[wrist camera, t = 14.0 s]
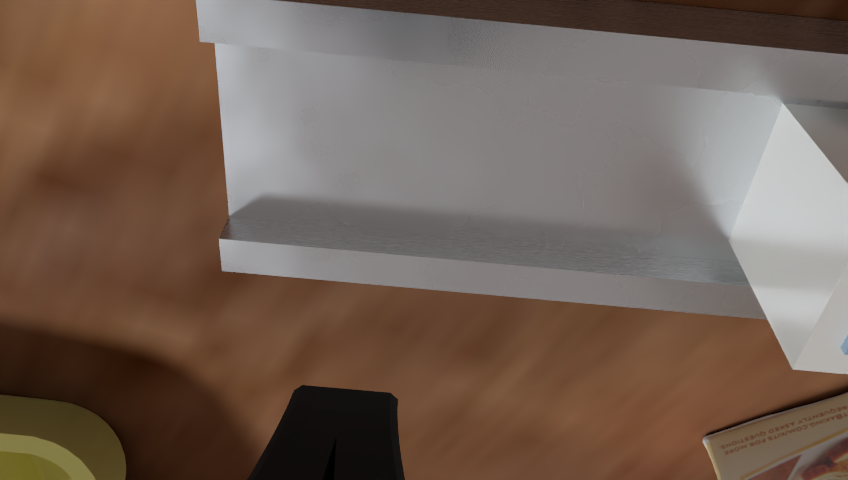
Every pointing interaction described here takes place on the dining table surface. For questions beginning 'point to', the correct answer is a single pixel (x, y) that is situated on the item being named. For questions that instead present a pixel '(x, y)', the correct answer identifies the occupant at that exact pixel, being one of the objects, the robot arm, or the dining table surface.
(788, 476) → the coffeecake box
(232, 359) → the dining table surface
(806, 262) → the block
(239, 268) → the rail
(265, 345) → the dining table surface
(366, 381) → the dining table surface
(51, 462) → the plastic component
